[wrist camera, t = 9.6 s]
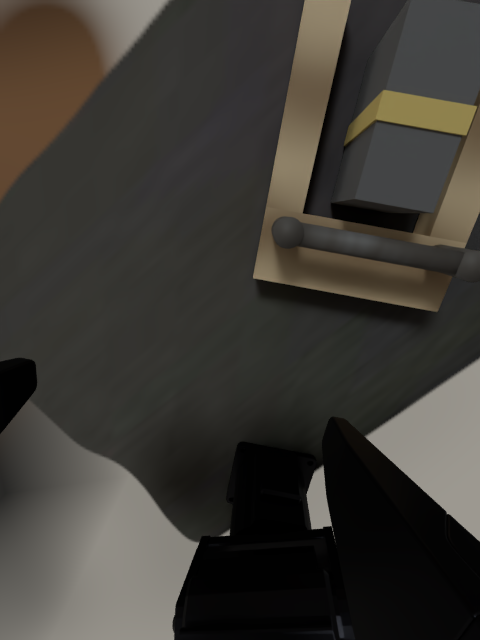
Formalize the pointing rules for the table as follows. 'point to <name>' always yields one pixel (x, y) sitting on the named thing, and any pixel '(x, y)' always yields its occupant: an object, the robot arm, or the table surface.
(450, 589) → the robot arm
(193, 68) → the table surface
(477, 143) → the wooden u-shaped holder
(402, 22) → the banded grey block
